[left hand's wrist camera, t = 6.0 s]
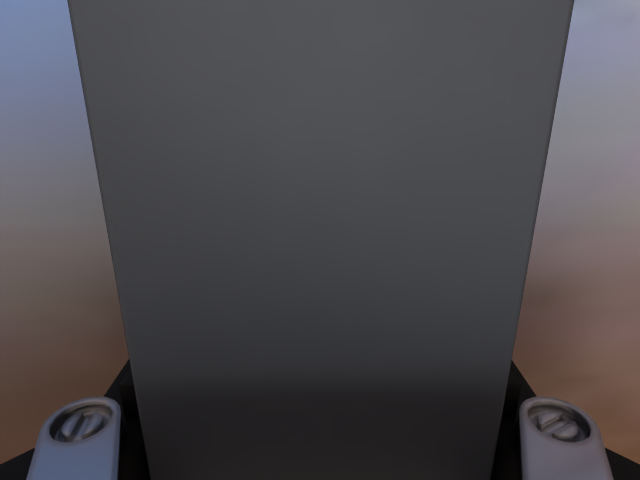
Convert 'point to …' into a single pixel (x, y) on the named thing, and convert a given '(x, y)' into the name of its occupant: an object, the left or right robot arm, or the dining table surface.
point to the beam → (320, 224)
